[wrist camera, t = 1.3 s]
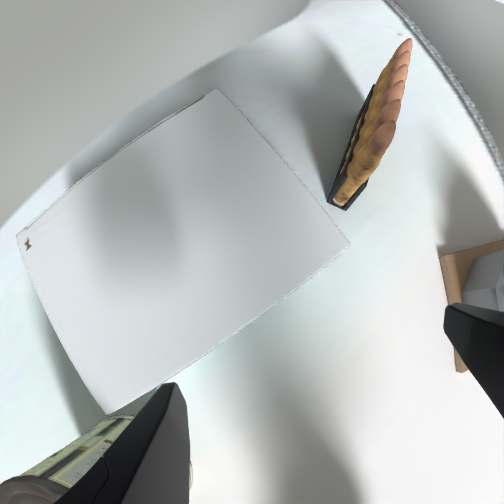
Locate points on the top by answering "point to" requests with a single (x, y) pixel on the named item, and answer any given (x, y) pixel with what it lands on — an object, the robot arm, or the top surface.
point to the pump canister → (475, 280)
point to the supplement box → (173, 248)
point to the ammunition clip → (372, 130)
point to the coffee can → (65, 466)
